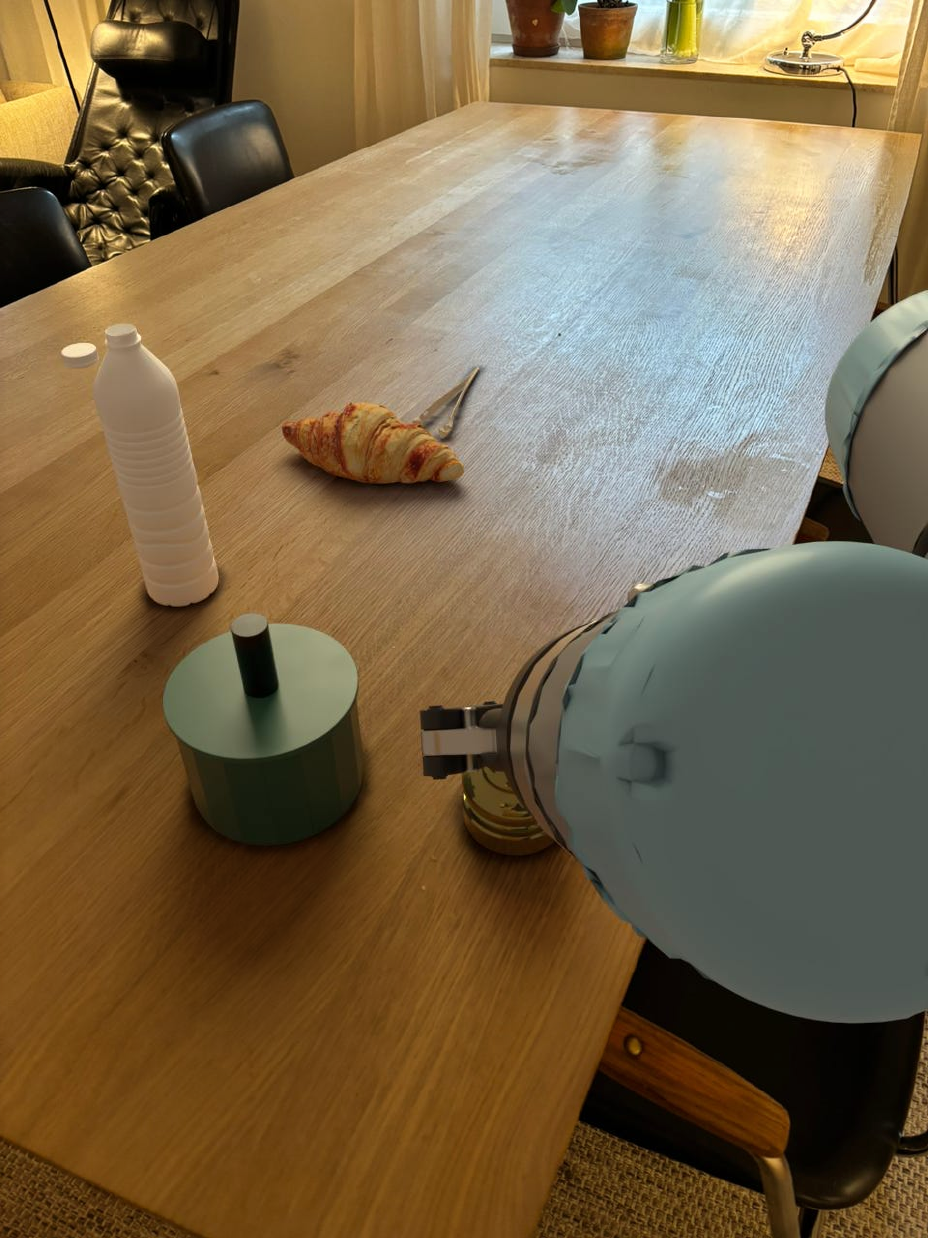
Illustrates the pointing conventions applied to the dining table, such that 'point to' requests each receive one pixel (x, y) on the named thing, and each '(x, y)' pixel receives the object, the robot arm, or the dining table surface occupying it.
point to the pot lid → (260, 692)
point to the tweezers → (443, 400)
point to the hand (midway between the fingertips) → (538, 722)
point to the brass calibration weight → (499, 815)
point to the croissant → (372, 446)
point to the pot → (280, 789)
